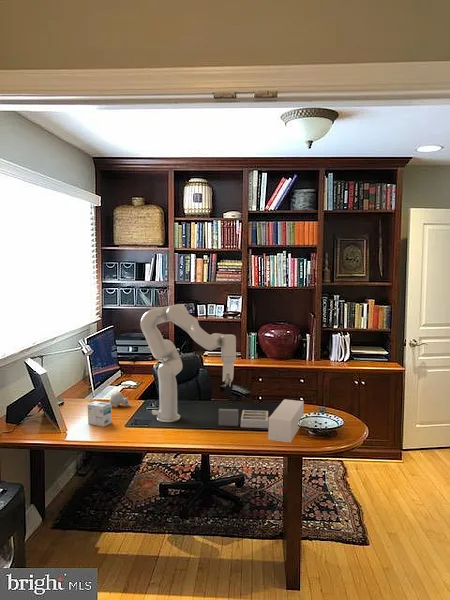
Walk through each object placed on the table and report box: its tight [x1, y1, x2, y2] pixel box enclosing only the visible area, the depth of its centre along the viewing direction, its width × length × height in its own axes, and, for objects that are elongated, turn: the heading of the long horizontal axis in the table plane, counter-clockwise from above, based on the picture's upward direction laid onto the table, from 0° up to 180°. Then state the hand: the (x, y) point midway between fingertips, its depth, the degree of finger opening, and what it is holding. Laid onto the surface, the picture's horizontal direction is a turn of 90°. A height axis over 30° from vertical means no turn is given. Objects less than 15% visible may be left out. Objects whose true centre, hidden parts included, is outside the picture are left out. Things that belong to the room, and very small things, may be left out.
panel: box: [218, 408, 239, 427], centre depth 244 cm, size 10×2×8 cm, turn 84°
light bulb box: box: [87, 400, 113, 428], centre depth 245 cm, size 11×7×11 cm, turn 65°
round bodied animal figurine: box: [108, 390, 131, 408], centre depth 274 cm, size 7×12×8 cm, turn 84°
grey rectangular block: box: [267, 398, 305, 443], centre depth 237 cm, size 32×11×11 cm, turn 160°
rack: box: [240, 409, 269, 429], centre depth 247 cm, size 14×16×4 cm
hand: (228, 391), depth 242 cm, fingers open, 9 cm apart
